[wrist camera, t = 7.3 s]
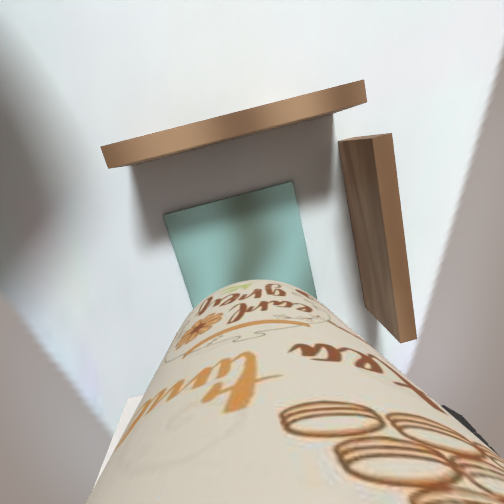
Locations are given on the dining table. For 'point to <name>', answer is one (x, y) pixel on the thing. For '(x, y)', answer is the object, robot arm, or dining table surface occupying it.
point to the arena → (287, 210)
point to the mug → (289, 417)
